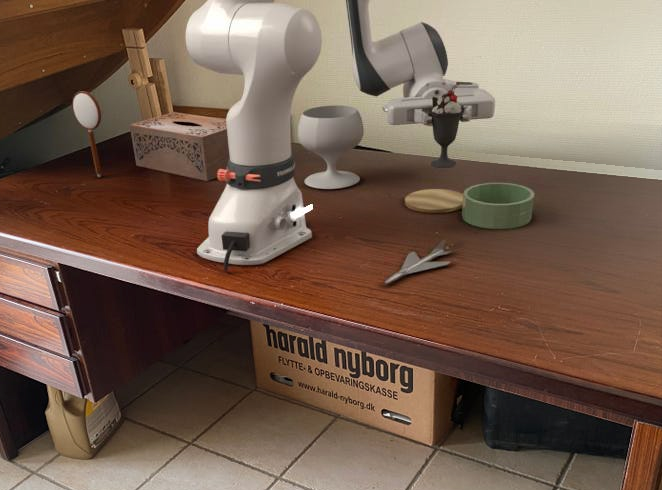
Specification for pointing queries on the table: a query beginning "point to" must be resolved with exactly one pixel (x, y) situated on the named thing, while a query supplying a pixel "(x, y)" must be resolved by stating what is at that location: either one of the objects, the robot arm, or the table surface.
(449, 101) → the sundae
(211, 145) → the tissue box cover
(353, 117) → the chalice
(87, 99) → the magnifying glass
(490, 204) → the green shallow round dish
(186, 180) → the table surface
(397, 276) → the toy airplane
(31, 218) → the table surface
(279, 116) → the robot arm
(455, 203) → the trivet
